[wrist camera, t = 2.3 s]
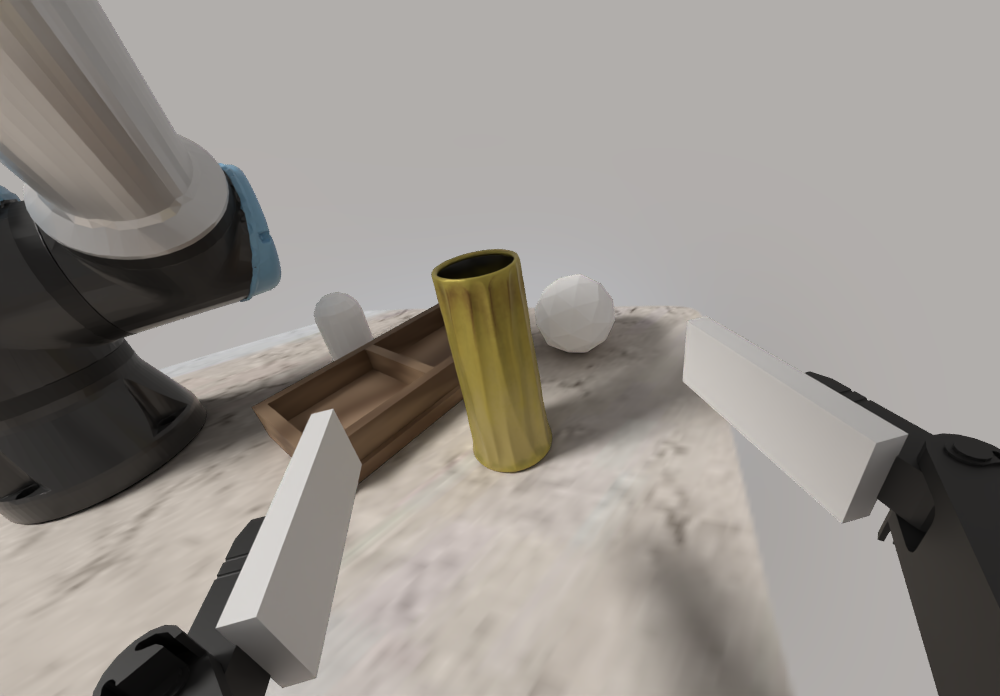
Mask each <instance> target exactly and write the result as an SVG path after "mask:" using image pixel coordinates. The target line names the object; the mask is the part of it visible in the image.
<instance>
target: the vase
mask: <svg viewBox="0 0 1000 696" xmlns="http://www.w3.org/2000/svg"><path fill="white" fill-rule="evenodd" d="M431 275H432V279H433V283H434V286H435V290H436V295H437V299H438V302H439V306H440V310H441V313H442V316H443V320H444V324H445V328H446V333H447V337H448V341H449V345H450V349H451V352H452V356H453V360H454V364H455V368H456V372H457V376H458V379H459V383H460V387H461V391H462V394H463V398H464V402H465V406H466V411H467V415H468V420H469V425H470V429H471V433H472V438H473V451H474V455H475V457H476V458H477V460H478V461H479V462H480V463H481V464H482V465H484V466H485V467H487V468H489V469H491V470H494V471H498V472H517V471H521V470H524V469H527V468H529V467H531V466H533V465H535V464H537V463H538V462H539V461H540V460H541V459H543V458H544V457H545V455H546V454H547V453H548V451H549V449H550V447H551V442H552V433H551V429H550V427H549V424H548V421H547V417H546V412H545V407H544V402H543V397H542V389H541V382H540V376H539V371H538V365H537V360H536V354H535V349H534V344H533V339H532V334H531V328H530V319H529V312H528V306H527V300H526V294H525V288H524V282H523V276H522V270H521V263H520V259H519V257H518V255H517V253H515V252H513V251H510V250H503V249H491V250H482V251H476V252H471V253H467V254H463V255H460V256H457V257H455V258H452V259H449V260H447V261H445V262H443V263H441V264H440V265H438V266H437V267H435V268H434V269H433V271H432V274H431Z"/></svg>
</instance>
